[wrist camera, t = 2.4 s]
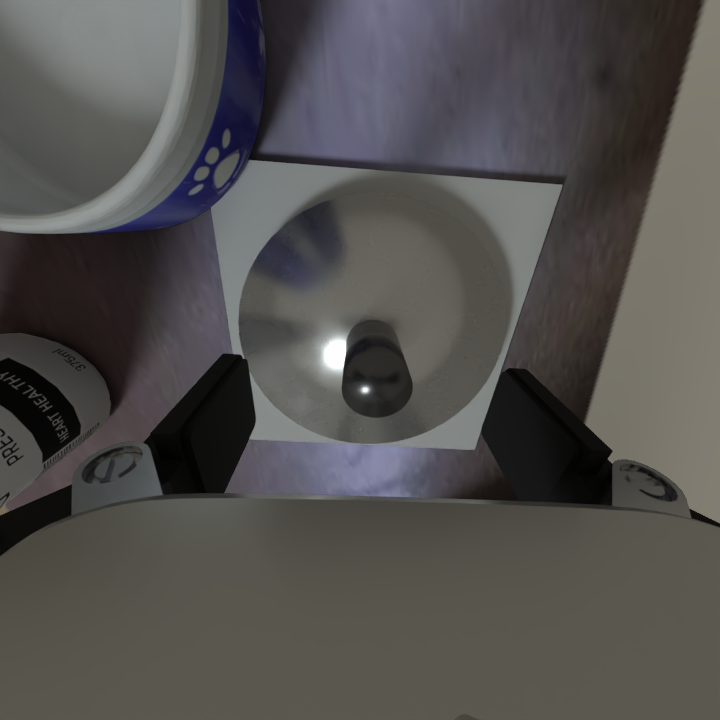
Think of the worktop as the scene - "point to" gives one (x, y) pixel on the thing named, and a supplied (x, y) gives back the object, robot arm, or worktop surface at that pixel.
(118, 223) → the dog bowl
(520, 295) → the mat
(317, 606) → the robot arm
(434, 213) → the lid
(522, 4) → the worktop surface
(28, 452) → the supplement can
